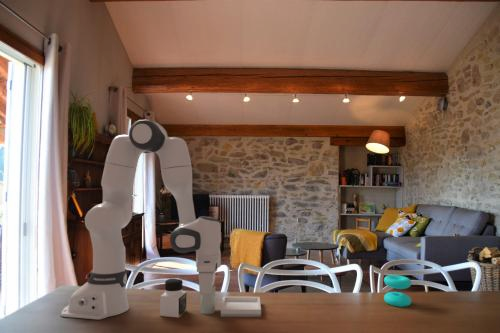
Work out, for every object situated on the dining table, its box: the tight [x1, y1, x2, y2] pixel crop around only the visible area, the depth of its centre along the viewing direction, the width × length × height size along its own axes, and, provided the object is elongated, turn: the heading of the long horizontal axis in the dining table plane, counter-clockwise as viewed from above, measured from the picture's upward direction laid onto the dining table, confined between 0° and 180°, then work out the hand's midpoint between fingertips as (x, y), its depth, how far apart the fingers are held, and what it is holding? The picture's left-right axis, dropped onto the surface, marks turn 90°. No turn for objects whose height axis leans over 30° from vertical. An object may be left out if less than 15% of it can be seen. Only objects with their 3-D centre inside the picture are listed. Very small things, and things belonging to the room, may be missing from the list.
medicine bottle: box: [159, 277, 187, 319], centre depth 133 cm, size 7×7×12 cm
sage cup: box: [200, 284, 216, 315], centre depth 135 cm, size 5×5×9 cm
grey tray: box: [220, 296, 262, 318], centre depth 137 cm, size 14×14×2 cm
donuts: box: [383, 274, 412, 308], centre depth 146 cm, size 10×10×10 cm
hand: (207, 300), depth 135 cm, fingers closed on sage cup, 5 cm apart
